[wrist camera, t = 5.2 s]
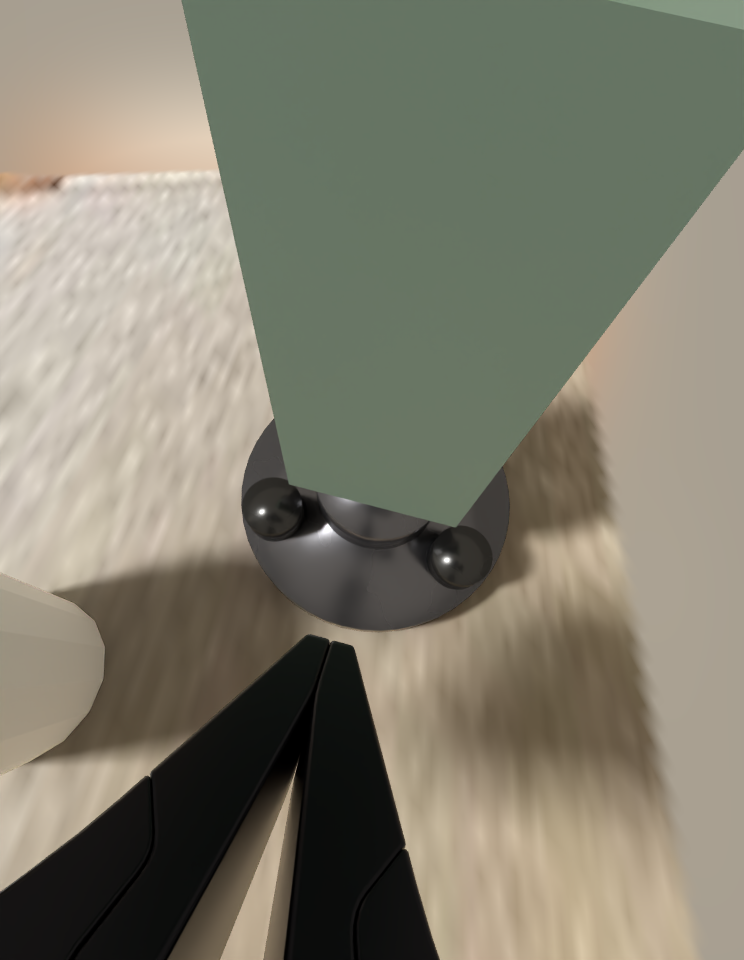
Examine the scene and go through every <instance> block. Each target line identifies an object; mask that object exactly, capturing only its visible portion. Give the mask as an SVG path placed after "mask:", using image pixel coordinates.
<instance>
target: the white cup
mask: <svg viewBox="0 0 744 960" xmlns="http://www.w3.org/2000/svg"><path fill="white" fill-rule="evenodd" d="M104 658H105V646H104V643H103V641H102V638H101V636H100V633H99V630H98V628H97V625H96V623H95V621H94V620H93V619H92V618H91V617H90V616H89V615H87V614H86V613H85V612H84V611H83V610H82V609H81V608H79V607H78V606H77V605H76V604H75V603H73V602H70V601H68V600H65V599H63V598H60V597H58V596H56V595H53V594H51V593H48V592H46V591H44V590H41V589H39V588H36V587H34V586H32V585H29V584H27V583H24V582H22V581H19V580H17V579H15V578H12V577H10V576H7V575H5V574H3V573H0V776H1V775H3V774H5V773H7V772H9V771H11V770H13V769H15V768H17V767H19V766H21V765H24V764H26V763H28V762H30V761H32V760H33V759H35V758H37V757H38V756H40V755H42V754H43V753H45V752H47V751H48V750H50V749H52V748H53V747H55V746H57V745H58V744H60V743H62V742H63V741H65V739H66V738H67V737H68V736H69V735H70V734H71V732H72V731H73V730H74V729H75V728H76V727H77V726H78V724H79V723H80V722H81V721H82V720H83V719H84V718H85V716H86V715H87V714H88V713H89V712H90V709H91V707H92V705H93V702H94V700H95V698H96V695H97V693H98V691H99V688H100V686H101V684H102V681H103V677H104Z"/></svg>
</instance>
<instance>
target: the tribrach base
mask: <svg viewBox="0 0 744 960" xmlns="http://www.w3.org/2000/svg"><path fill="white" fill-rule="evenodd" d="M241 506H242V514H243V523H244V527H245V530H246V534H247V538H248V541H249V543H250V546H251V548H252V550H253V553H254V555H255V557H256V559H257V560H258V562H259V564H260V565H261V567H262V569H263V570H264V572H265V573H266V574H267V576H268V577H269V578H270V579H271V580H272V582H273V583H274V584H275V585H276V587H277V588H278V589H279V590H280V591H281V592H282V593H283V594H284V595H285V596H286V597H287V598H288V599H289V600H291V601H292V602H293V603H294V604H295V605H297V606H298V607H300V608H301V609H303V610H304V611H305V612H307V613H308V614H310V615H312V616H314V617H316V618H318V619H320V620H322V621H324V622H327V623H330V624H333V625H336V626H338V627H341V628H346V629H351V630H356V631H364V632H388V631H398V630H402V629H407V628H411V627H415V626H418V625H420V624H423V623H426V622H428V621H431V620H433V619H435V618H438V617H439V616H441V615H443V614H445V613H447V612H448V611H450V610H452V609H454V608H455V607H456V606H458V605H459V604H460V603H462V602H463V601H464V600H466V599H467V598H468V597H469V596H470V595H471V594H472V593H473V592H474V591H475V590H476V589H477V588H478V587H479V586H480V585H481V584H482V583H483V581H484V580H485V579H486V577H487V576H488V574H489V573H490V572H491V570H492V568H493V567H494V565H495V563H496V561H497V559H498V557H499V555H500V552H501V550H502V547H503V544H504V541H505V538H506V533H507V528H508V524H509V510H510V504H509V490H508V486H507V481H506V476H505V473H504V470H503V467H501V469H500V470H499V471H498V473H497V474H496V475H495V477H494V478H493V479H492V481H491V482H490V483H489V484H488V486H487V487H486V488H485V490H484V491H483V492H482V494H481V495H480V496H479V498H478V499H477V500H476V502H475V503H474V504H473V505H472V507H471V508H470V509H469V511H468V512H467V513H466V515H465V516H464V517H463V519H462V520H461V521H460V523H459V524H458V525H457V527H452V526H448V525H444V524H440V523H436V522H433V521H429V520H425V519H421V518H417V517H413V516H409V515H406V514H402V513H398V512H394V511H390V510H386V509H382V508H379V507H375V506H371V505H367V504H363V503H359V502H355V501H351V500H348V499H344V498H340V497H336V496H332V495H328V494H324V493H321V492H317V491H313V490H309V489H305V488H301V487H297V486H293V485H290V484H289V482H288V478H287V473H286V469H285V464H284V460H283V455H282V451H281V446H280V442H279V437H278V433H277V428H276V424H275V419H273V420H272V421H271V423H270V424H269V425H268V426H267V427H266V428H265V430H264V431H263V433H262V435H261V436H260V438H259V439H258V441H257V442H256V444H255V446H254V449H253V451H252V453H251V455H250V457H249V460H248V463H247V467H246V470H245V473H244V479H243V485H242V504H241Z"/></svg>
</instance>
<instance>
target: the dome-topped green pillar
mask: <svg viewBox="0 0 744 960" xmlns="http://www.w3.org/2000/svg"><path fill="white" fill-rule="evenodd" d="M182 4H183V9H184V14H185V18H186V23H187V27H188V32H189V36H190V41H191V45H192V50H193V54H194V59H195V63H196V67H197V72H198V76H199V81H200V86H201V90H202V95H203V99H204V104H205V108H206V113H207V117H208V122H209V126H210V131H211V135H212V139H213V144H214V149H215V153H216V158H217V162H218V167H219V171H220V176H221V180H222V185H223V189H224V194H225V198H226V203H227V207H228V212H229V216H230V221H231V225H232V230H233V234H234V239H235V243H236V248H237V252H238V257H239V261H240V266H241V270H242V275H243V279H244V284H245V289H246V293H247V298H248V302H249V307H250V311H251V316H252V320H253V325H254V329H255V334H256V338H257V343H258V347H259V352H260V356H261V361H262V365H263V370H264V374H265V379H266V383H267V388H268V392H269V397H270V401H271V406H272V410H273V415H274V419H275V424H276V428H277V433H278V437H279V442H280V446H281V451H282V455H283V460H284V464H285V469H286V473H287V478H288V482H289V484H290V485H293V486H297V487H301V488H305V489H309V490H313V491H317V492H321V493H324V494H328V495H332V496H336V497H340V498H344V499H348V500H351V501H355V502H359V503H363V504H367V505H371V506H375V507H379V508H382V509H386V510H390V511H394V512H398V513H402V514H406V515H409V516H413V517H417V518H421V519H425V520H429V521H433V522H436V523H440V524H444V525H448V526H452V527H457V525H458V524H459V523H460V521H461V520H462V519H463V517H464V516H465V515H466V513H467V512H468V511H469V509H470V508H471V507H472V505H473V504H474V503H475V502H476V500H477V499H478V498H479V496H480V495H481V494H482V492H483V491H484V490H485V488H486V487H487V486H488V484H489V483H490V482H491V481H492V479H493V478H494V477H495V475H496V474H497V473H498V471H499V470H500V469H501V467H502V466H503V465H504V463H505V462H506V461H507V459H508V458H509V457H510V456H511V454H512V453H513V452H514V450H515V449H516V448H517V446H518V445H519V444H520V442H521V441H522V440H523V438H524V437H525V436H526V435H527V433H528V432H529V431H530V429H531V428H532V427H533V425H534V424H535V423H536V421H537V420H538V419H539V417H540V416H541V415H542V414H543V412H544V411H545V410H546V408H547V407H548V406H549V404H550V403H551V402H552V400H553V399H554V398H555V396H556V395H557V394H558V392H559V391H560V390H561V389H562V387H563V386H564V385H565V383H566V382H567V381H568V379H569V378H570V377H571V375H572V374H573V373H574V371H575V370H576V369H577V368H578V366H579V365H580V364H581V362H582V361H583V360H584V358H585V357H586V356H587V354H588V353H589V352H590V350H591V349H592V348H593V346H594V345H595V344H596V343H597V341H598V340H599V338H600V337H601V336H602V335H603V333H604V332H605V331H606V329H607V328H608V327H609V325H610V324H611V323H612V321H613V320H614V319H615V318H616V316H617V315H618V314H619V312H620V311H621V310H622V308H623V307H624V306H625V304H626V303H627V302H628V300H629V299H630V298H631V296H632V295H633V294H634V293H635V291H636V290H637V289H638V287H639V286H640V285H641V283H642V282H643V281H644V279H645V278H646V277H647V275H648V274H649V273H650V272H651V270H652V269H653V268H654V266H655V265H656V264H657V262H658V261H659V260H660V258H661V257H662V256H663V254H664V253H665V252H666V251H667V249H668V248H669V247H670V245H671V244H672V243H673V241H674V240H675V239H676V237H677V236H678V235H679V233H680V232H681V231H682V230H683V228H684V227H685V226H686V224H687V223H688V222H689V220H690V219H691V218H692V216H693V215H694V214H695V212H696V211H697V210H698V209H699V207H700V206H701V205H702V203H703V202H704V201H705V199H706V198H707V196H708V195H709V194H710V193H711V191H712V190H713V189H714V187H715V186H716V185H717V184H718V182H719V181H720V179H721V178H722V177H723V176H724V174H725V173H726V172H727V170H728V169H729V168H730V166H731V165H732V164H733V163H734V161H735V160H736V159H737V157H738V156H739V155H740V153H741V152H742V150H743V149H744V0H182Z"/></svg>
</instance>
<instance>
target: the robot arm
mask: <svg viewBox="0 0 744 960" xmlns="http://www.w3.org/2000/svg"><path fill="white" fill-rule="evenodd" d="M297 764H298V765H297ZM296 767H297V769H296ZM295 770H296V773H295ZM294 773H295V777H294V782H293V787H292V793H291V798H290V804H289V810H288V816H287V822H286V828H285V834H284V840H283V846H282V852H281V858H280V864H279V870H278V876H277V882H276V888H275V894H274V900H273V906H272V912H271V918H270V924H269V930H268V936H267V941H266V947H265V953H264V959H263V960H440V959H439V956H438V953H437V950H436V947H435V944H434V941H433V938H432V935H431V932H430V928H429V925H428V921H427V918H426V914H425V911H424V908H423V904H422V901H421V897H420V894H419V890H418V887H417V884H416V880H415V876H414V872H413V868H412V865H411V861H410V857H409V853H408V851H407V850H406V849H404V848H405V846H406V843H405V839H404V835H403V831H402V828H401V824H400V820H399V816H398V812H397V809H396V805H395V801H394V797H393V793H392V790H391V786H390V782H389V778H388V774H387V771H386V767H385V763H384V759H383V755H382V752H381V748H380V744H379V740H378V736H377V733H376V729H375V725H374V721H373V717H372V714H371V710H370V706H369V702H368V698H367V694H366V691H365V687H364V683H363V679H362V675H361V672H360V668H359V664H358V660H357V656H356V653H355V649H354V647H353V646H351V645H348V644H344V643H341V642H337V641H332V642H331V643H330V642H329V640H328V639H326V638H322V637H318V636H315V635H311V634H309V635H306V636H305V637H304V638H303V639H302V640H300V641H299V642H298V643H297V644H296V645H295V646H294V647H292V648H291V649H290V650H289V651H288V652H287V653H286V654H284V655H283V656H282V657H281V658H280V659H279V660H278V661H276V662H275V663H274V664H273V665H272V666H271V667H270V668H268V669H267V670H266V671H265V672H264V673H263V674H262V675H260V676H259V677H258V678H257V679H256V680H255V681H254V682H252V683H251V684H250V685H249V686H248V687H247V688H246V689H245V690H243V691H242V692H241V693H240V694H239V695H238V696H237V697H235V698H234V699H233V700H232V701H231V702H230V703H229V704H227V705H226V706H225V707H224V708H223V709H222V710H221V711H219V712H218V713H217V714H216V715H215V716H214V717H213V718H211V719H210V720H209V721H208V722H207V723H206V724H205V725H203V726H202V727H201V728H200V729H199V730H198V731H197V732H195V733H194V734H193V735H192V736H191V737H190V738H189V739H188V740H186V741H185V742H184V743H183V744H182V745H181V746H180V747H178V748H177V749H176V750H175V751H174V752H173V753H172V754H170V755H169V756H168V757H167V758H166V759H165V760H164V761H162V762H161V763H160V764H159V765H158V766H157V767H156V768H154V769H153V770H152V771H151V773H150V777H149V776H145V777H144V778H143V779H141V780H140V781H139V782H138V783H137V784H136V785H135V786H134V787H132V788H131V789H130V790H129V791H128V792H127V793H126V794H124V795H123V796H122V797H121V798H120V799H119V800H118V801H116V802H115V803H114V804H113V805H112V806H110V807H109V808H108V809H107V810H106V811H104V812H103V813H102V814H101V815H100V816H98V817H97V818H96V819H95V820H94V821H92V822H91V823H90V824H89V825H88V826H86V827H85V828H84V829H83V830H82V831H80V832H79V833H78V834H77V835H75V836H74V837H73V838H71V839H70V840H69V841H67V842H66V843H65V844H64V845H62V846H61V847H60V848H58V849H57V850H56V851H54V852H53V853H52V854H50V855H49V856H48V857H46V858H45V859H44V860H43V861H41V862H40V863H39V864H37V865H36V866H35V867H33V868H32V869H31V870H29V871H28V872H27V873H25V874H24V875H23V876H21V877H20V878H19V879H17V880H16V881H15V882H13V883H12V884H10V885H9V886H8V887H6V888H5V889H4V890H2V891H1V892H0V960H220V958H221V956H222V953H223V951H224V948H225V946H226V943H227V941H228V938H229V936H230V933H231V931H232V928H233V926H234V923H235V921H236V919H237V916H238V914H239V911H240V909H241V906H242V904H243V901H244V899H245V896H246V894H247V891H248V889H249V886H250V884H251V881H252V879H253V877H254V874H255V872H256V869H257V867H258V864H259V862H260V859H261V857H262V854H263V852H264V849H265V847H266V844H267V842H268V839H269V837H270V834H271V832H272V830H273V827H274V825H275V822H276V820H277V817H278V815H279V812H280V810H281V807H282V805H283V802H284V800H285V797H286V795H287V792H288V790H289V787H290V784H291V782H292V779H293V776H294Z"/></svg>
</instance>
